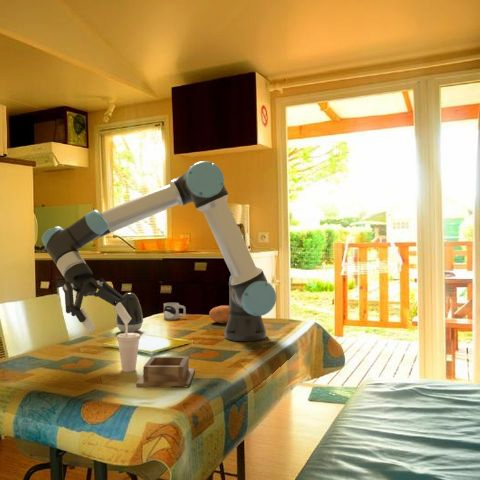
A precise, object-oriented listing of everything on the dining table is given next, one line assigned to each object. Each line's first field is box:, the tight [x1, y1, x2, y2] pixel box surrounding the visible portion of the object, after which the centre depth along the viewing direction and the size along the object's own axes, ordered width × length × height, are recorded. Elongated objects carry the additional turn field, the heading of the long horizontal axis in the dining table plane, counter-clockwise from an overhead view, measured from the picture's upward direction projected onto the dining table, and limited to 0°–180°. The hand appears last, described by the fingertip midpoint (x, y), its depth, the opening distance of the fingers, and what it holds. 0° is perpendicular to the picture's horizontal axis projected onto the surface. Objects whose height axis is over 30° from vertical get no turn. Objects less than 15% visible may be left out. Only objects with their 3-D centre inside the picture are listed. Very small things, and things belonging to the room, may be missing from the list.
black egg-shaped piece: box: [115, 292, 144, 333], centre depth 183 cm, size 10×10×15 cm
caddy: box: [135, 355, 196, 388], centre depth 122 cm, size 13×13×4 cm
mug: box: [163, 302, 187, 321], centre depth 212 cm, size 10×7×7 cm, turn 81°
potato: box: [208, 305, 230, 324], centre depth 200 cm, size 9×11×8 cm
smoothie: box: [116, 319, 141, 373], centre depth 131 cm, size 6×6×14 cm
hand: (111, 325), depth 133 cm, fingers open, 13 cm apart
